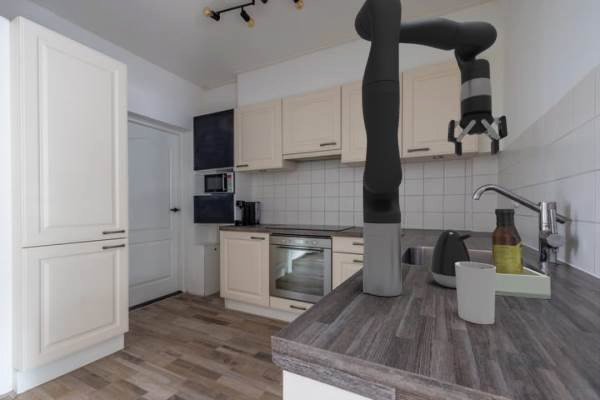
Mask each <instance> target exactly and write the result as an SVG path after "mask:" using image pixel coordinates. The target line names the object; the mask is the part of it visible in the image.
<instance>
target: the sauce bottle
mask: <svg viewBox="0 0 600 400" xmlns="http://www.w3.org/2000/svg"><path fill="white" fill-rule="evenodd" d="M494 213H495V214H494V215H495V216H496V217H495V218H496V219H495V220H496V223H495V228H494V230H493V231H492V232H491V256H492V257H491V260H492V265H493V266H495V267H496V273H500V274H516V275H523V267H524V261H523V242H522V241H523V240H522V238H521V236H520V233H519V232H518V229H517V227H516V225H515V224H516V223H515V213H516V212H515V209H514V208H494Z"/></svg>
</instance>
